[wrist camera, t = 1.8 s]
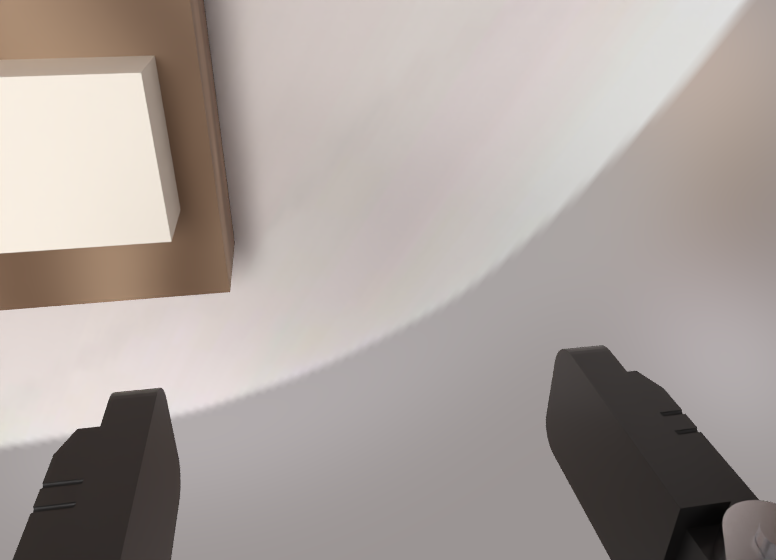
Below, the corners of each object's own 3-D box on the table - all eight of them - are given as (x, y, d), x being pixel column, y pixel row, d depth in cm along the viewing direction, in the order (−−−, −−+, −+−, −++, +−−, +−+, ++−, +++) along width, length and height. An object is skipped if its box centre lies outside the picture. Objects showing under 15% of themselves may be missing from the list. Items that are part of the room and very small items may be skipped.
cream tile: (154, 55, 23) (140, 72, 21) (180, 209, 26) (171, 241, 24) (-25, 60, 22) (-64, 78, 20) (22, 219, 25) (-6, 253, 23)
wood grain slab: (194, -73, 26) (180, -71, 21) (234, 242, 33) (229, 291, 28) (-259, -73, 23) (-377, -71, 19) (-113, 266, 30) (-176, 324, 26)
